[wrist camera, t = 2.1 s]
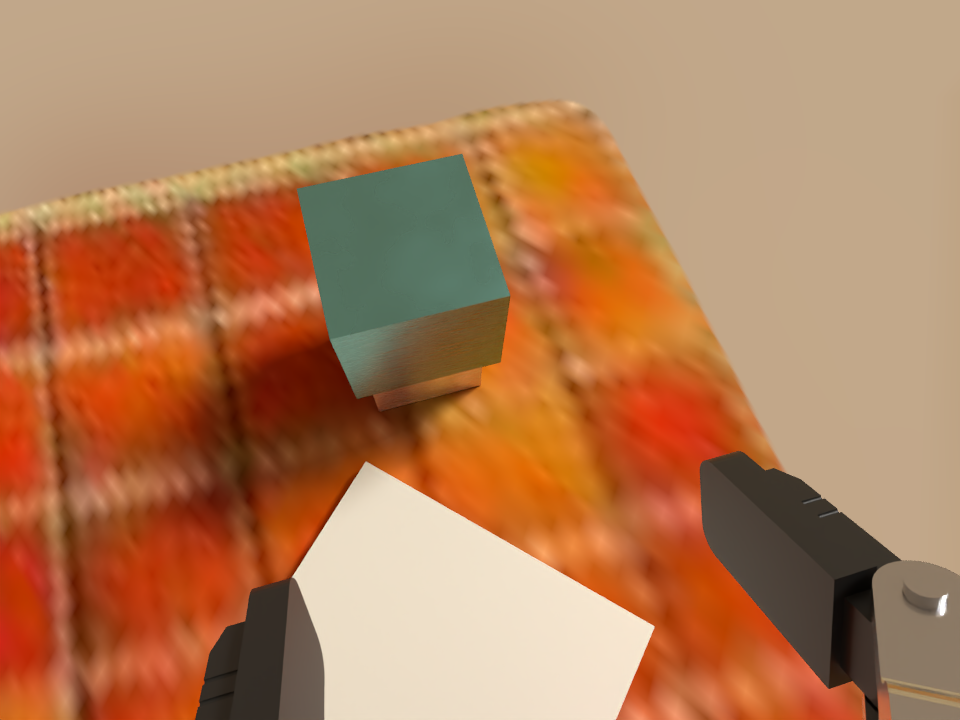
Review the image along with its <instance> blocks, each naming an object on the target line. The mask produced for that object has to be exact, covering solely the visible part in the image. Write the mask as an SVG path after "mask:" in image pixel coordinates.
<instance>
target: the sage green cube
mask: <svg viewBox="0 0 960 720" xmlns="http://www.w3.org/2000/svg"><path fill="white" fill-rule="evenodd" d="M297 191H298V196H299V201H300V205H301V210H302V214H303V219H304V224H305V228H306V233H307V237H308V242H309V246H310V251H311V256H312V260H313V265H314V269H315V274H316V279H317V283H318V288H319V292H320V297H321V302H322V306H323V311H324V315H325V320H326V325H327V329H328V334H329V338H330V341H331V343H332V346H333V348H334V350H335V352H336V354H337V357H338V359H339V361H340V363H341V365H342V367H343V370H344V372H345V374H346V376H347V378H348V381H349V383H350V385H351V387H352V389H353V392H354V394H355V396H356V398H357V399H359V398H363V397H367V396H371V395H374V394H378V393H382V392H386V391H390V390H394V389H398V388H402V387H406V386H410V385H414V384H417V383H421V382H425V381H429V380H433V379H437V378H441V377H445V376H449V375H453V374H457V373H460V372H464V371H468V370H472V369H476V368H480V367H484V366H488V365H492V364H496V363H500V362H501V356H502V349H503V342H504V335H505V329H506V322H507V315H508V308H509V301H510V293H509V290H508V288H507V285H506V282H505V279H504V276H503V273H502V270H501V267H500V264H499V261H498V258H497V255H496V252H495V249H494V246H493V243H492V240H491V237H490V235H489V232H488V229H487V226H486V223H485V220H484V217H483V214H482V211H481V208H480V205H479V202H478V199H477V196H476V193H475V190H474V187H473V184H472V182H471V179H470V176H469V173H468V170H467V167H466V164H465V161H464V158H463V155H462V154H459V155H455V156H450V157H445V158H440V159H436V160H431V161H426V162H421V163H417V164H412V165H407V166H402V167H398V168H393V169H388V170H384V171H379V172H374V173H369V174H365V175H360V176H355V177H350V178H346V179H341V180H336V181H332V182H327V183H322V184H317V185H313V186H308V187H303V188H298V189H297Z"/></svg>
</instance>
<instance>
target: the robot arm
mask: <svg viewBox="0 0 960 720" xmlns="http://www.w3.org/2000/svg"><path fill="white" fill-rule="evenodd" d="M700 485H701V504H702V523H703V530H704V533H705V537H706V539H707V542H708V544H709V546H710V548H711V550H712V551H713V553H714V554H715V556H716V557H717V558H718V559H719V561H720V562H721V563H722V564H723V565H724V566H725V568H726V569H727V570H728V571H729V572H730V573H731V575H732V576H733V577H734V578H735V579H736V581H737V582H738V583H739V584H740V585H741V586H742V588H743V589H744V590H745V591H746V592H747V593H748V595H749V596H750V597H751V598H752V599H753V601H754V602H755V603H756V604H757V605H758V606H759V608H760V609H761V610H762V611H763V612H764V613H765V615H766V616H767V617H768V618H769V619H770V621H771V622H772V623H773V624H774V625H775V626H776V628H777V629H778V630H779V631H780V632H781V634H782V635H783V636H784V637H785V638H786V639H787V641H788V642H789V643H790V644H791V645H792V646H793V648H794V649H795V650H796V651H797V652H798V654H799V655H800V656H801V657H802V658H803V659H804V661H805V662H806V663H807V664H808V665H809V666H810V668H811V669H812V670H813V671H814V672H815V674H816V675H817V676H818V677H819V678H820V679H821V681H822V682H823V683H824V684H825V685H826V686H827V688H828V689H830V688H833V687H836V686H839V685H842V684H845V683H848V682H851V681H853V682H854V683H855V684H856V685H857V686H858V687H859V688H860V689H861V691H862V692H863V698H862V714H863V720H960V576H959V575H957V574H956V573H954V572H951V571H950V570H948V569H945V568H942V567H940V566H937V565H934V564H930V563H925V562H921V561H902V560H900V559H899V558H898V557H897V556H895V555H894V554H893V553H892V552H890V551H889V550H888V549H887V548H885V547H884V546H883V545H882V544H880V543H879V542H878V541H877V540H876V539H874V538H873V537H872V536H870V535H869V534H868V533H867V532H865V531H864V530H863V529H862V528H860V527H859V526H858V525H857V524H856V523H854V522H853V521H852V520H851V519H849V518H848V517H847V516H846V515H844V514H843V513H842V512H840V513H839V512H838V510H837V508H836V507H834V506H833V505H832V504H831V503H829V502H828V501H827V500H826V499H822V498H821V495H819V494H818V493H817V492H816V491H815V490H813V489H812V488H811V487H809V486H808V485H807V484H805V482H803V481H802V480H801V479H799V478H796V477H793V476H791V475H789V474H786V473H784V472H782V471H779V470H777V469H774V468H773V469H769V470H766V471H765V470H764V469H762V468H761V467H760V466H759V465H758V464H757V463H755V462H754V461H753V460H752V459H751V458H749V457H748V456H747V455H746V454H745V453H743V452H741V451H737V452H733V453H730V454H726V455H723V456H719V457H716V458H712V459H709V460H705V461H703V462H702V463H701V466H700ZM204 681H205V684H204V685H203V686H202V691H201V696H200V700H199V702H200V707H198V710H197V714H196V719H195V720H324V687H325V672H324V661H323V655H322V650H321V646H320V642H319V639H318V636H317V633H316V630H315V628H314V625H313V623H312V620H311V617H310V615H309V612H308V609H307V607H306V604H305V601H304V599H303V596H302V593H301V591H300V588H299V586H298V583H297V581H296V580H295V579H294V578H289V579H286V580H282V581H279V582H275V583H272V584H268V585H265V586H261V587H258V588H254V589H252V590H251V592H250V596H249V602H248V609H247V615H246V621H245V622H241V623H238V624H235V625H231V626H228V627H226V629H225V630H224V632H223V633H222V635H221V636H220V638H219V639H218V641H217V643H216V644H215V646H214V647H213V649H212V650H211V652H210V654H209V659H208V663H207V668H206V673H205V677H204Z"/></svg>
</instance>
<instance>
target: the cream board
mask: <svg viewBox="0 0 960 720" xmlns="http://www.w3.org/2000/svg"><path fill="white" fill-rule="evenodd" d="M292 578H294V579H295V580H296V581H297V583H298V586H299V588H300V591H301V593H302V596H303V599H304V601H305V604H306V607H307V609H308V612H309V615H310V617H311V620H312V623H313V625H314V628H315V630H316V633H317V636H318V639H319V642H320V646H321V650H322V655H323V661H324V672H325V687H324V720H616V718H617V716H618V713H619V711H620V709H621V706H622V704H623V701H624V699H625V697H626V694H627V692H628V689H629V687H630V685H631V682H632V680H633V677H634V675H635V673H636V670H637V668H638V665H639V663H640V661H641V658H642V656H643V653H644V651H645V649H646V646H647V644H648V641H649V639H650V637H651V634H652V632H653V629H654V626H653V625H651V624H649V623H647V622H646V621H644V620H642V619H641V618H639V617H637V616H635V615H634V614H632V613H630V612H628V611H627V610H625V609H623V608H621V607H620V606H618V605H616V604H614V603H613V602H611V601H609V600H607V599H606V598H604V597H602V596H600V595H599V594H597V593H595V592H593V591H592V590H590V589H588V588H586V587H585V586H583V585H581V584H579V583H578V582H576V581H574V580H572V579H571V578H569V577H567V576H565V575H564V574H562V573H560V572H558V571H557V570H555V569H553V568H551V567H550V566H548V565H546V564H544V563H543V562H541V561H539V560H537V559H536V558H534V557H532V556H530V555H529V554H527V553H525V552H523V551H522V550H520V549H518V548H516V547H515V546H513V545H511V544H509V543H508V542H506V541H504V540H502V539H501V538H499V537H497V536H495V535H494V534H492V533H490V532H488V531H487V530H485V529H483V528H481V527H480V526H478V525H476V524H474V523H473V522H471V521H469V520H467V519H466V518H464V517H462V516H460V515H459V514H457V513H455V512H453V511H452V510H450V509H448V508H446V507H445V506H443V505H441V504H440V503H438V502H436V501H434V500H433V499H431V498H429V497H427V496H426V495H424V494H422V493H420V492H419V491H417V490H415V489H413V488H412V487H410V486H408V485H406V484H405V483H403V482H401V481H399V480H398V479H396V478H394V477H392V476H391V475H389V474H387V473H385V472H384V471H382V470H380V469H378V468H377V467H375V466H373V465H371V464H370V463H368V462H365V463H364V465H363V467H362V468H361V470H360V471H359V473H358V474H357V476H356V478H355V479H354V481H353V482H352V484H351V485H350V487H349V489H348V490H347V492H346V493H345V495H344V496H343V498H342V500H341V501H340V503H339V504H338V506H337V507H336V509H335V511H334V512H333V514H332V515H331V517H330V518H329V520H328V522H327V523H326V525H325V526H324V528H323V529H322V531H321V533H320V534H319V536H318V537H317V539H316V540H315V542H314V544H313V545H312V547H311V548H310V550H309V551H308V553H307V555H306V556H305V558H304V559H303V561H302V562H301V564H300V565H299V567H298V569H297V570H296V572H295V573H294V575H293V576H292Z"/></svg>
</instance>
